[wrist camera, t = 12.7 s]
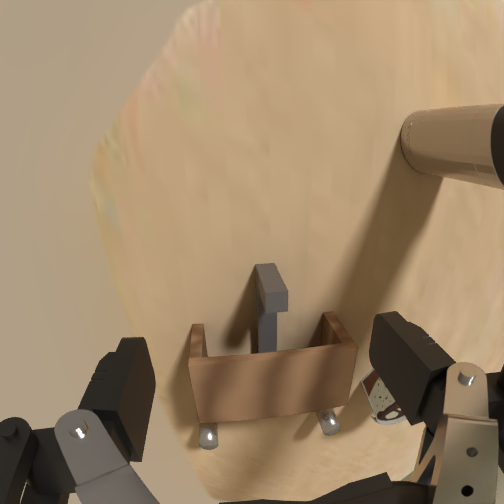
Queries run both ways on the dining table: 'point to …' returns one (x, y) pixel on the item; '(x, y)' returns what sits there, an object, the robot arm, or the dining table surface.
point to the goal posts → (210, 432)
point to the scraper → (269, 305)
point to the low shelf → (272, 378)
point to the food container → (381, 400)
